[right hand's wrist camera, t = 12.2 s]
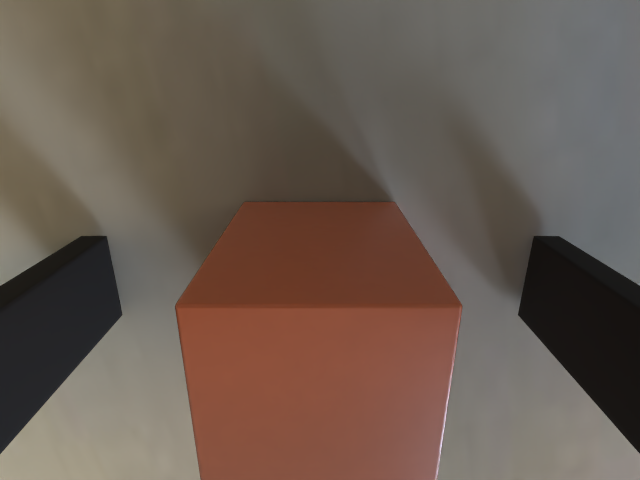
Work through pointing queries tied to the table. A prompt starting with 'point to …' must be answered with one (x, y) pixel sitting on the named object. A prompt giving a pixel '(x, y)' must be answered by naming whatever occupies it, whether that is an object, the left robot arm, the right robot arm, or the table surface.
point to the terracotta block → (318, 346)
